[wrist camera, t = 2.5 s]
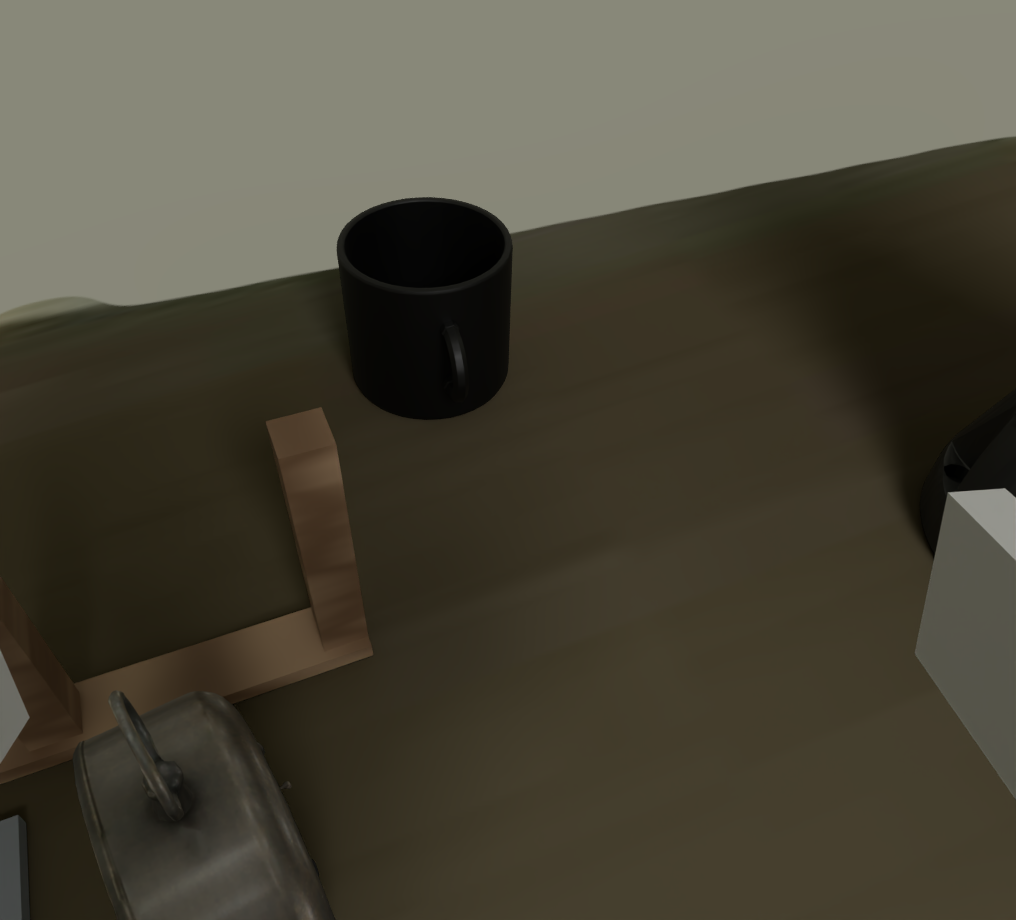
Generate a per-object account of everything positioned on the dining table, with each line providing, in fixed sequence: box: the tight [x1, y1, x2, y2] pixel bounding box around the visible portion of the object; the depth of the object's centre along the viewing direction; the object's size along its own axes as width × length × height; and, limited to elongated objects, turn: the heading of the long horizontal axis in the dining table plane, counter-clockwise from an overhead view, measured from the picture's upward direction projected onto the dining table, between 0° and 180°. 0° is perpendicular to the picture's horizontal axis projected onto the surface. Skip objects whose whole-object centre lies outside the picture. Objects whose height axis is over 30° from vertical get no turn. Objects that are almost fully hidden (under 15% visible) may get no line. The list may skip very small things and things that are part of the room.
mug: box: [337, 197, 513, 420], centre depth 48 cm, size 9×12×9 cm
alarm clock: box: [72, 690, 335, 920], centre depth 24 cm, size 11×5×16 cm, turn 33°
